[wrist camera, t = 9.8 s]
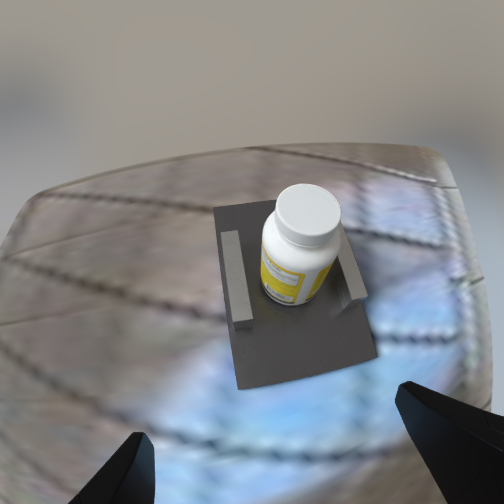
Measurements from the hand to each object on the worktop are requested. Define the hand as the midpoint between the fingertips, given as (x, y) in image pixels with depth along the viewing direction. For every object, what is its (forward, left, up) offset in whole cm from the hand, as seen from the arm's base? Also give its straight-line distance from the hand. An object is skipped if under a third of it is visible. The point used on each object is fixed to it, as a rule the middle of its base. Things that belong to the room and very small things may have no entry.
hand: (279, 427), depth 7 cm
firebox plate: (+12, -1, -14) cm, 18 cm away
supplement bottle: (+11, -1, -13) cm, 17 cm away
